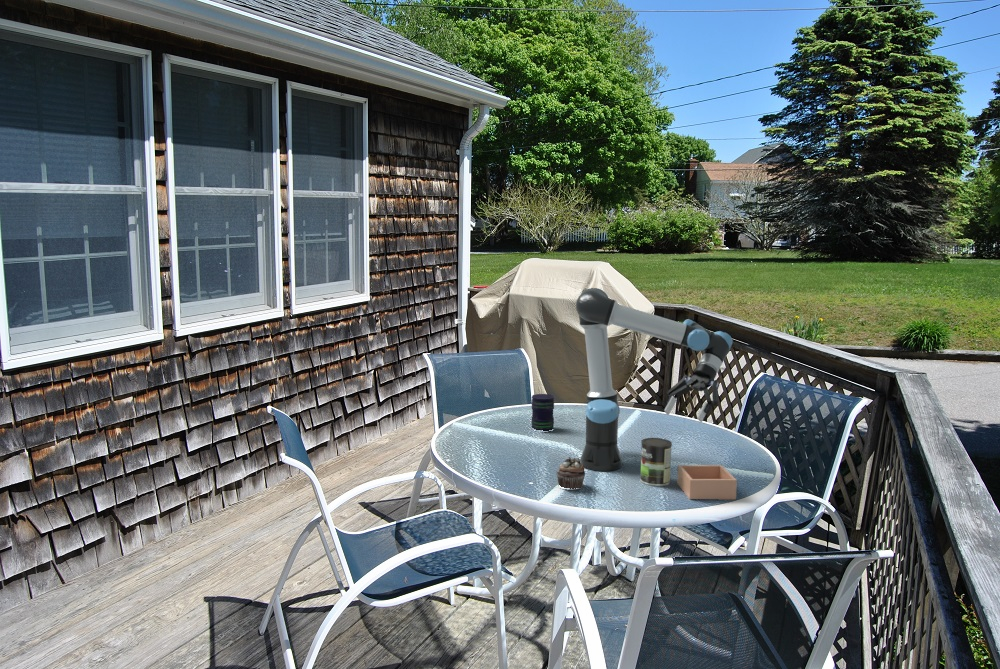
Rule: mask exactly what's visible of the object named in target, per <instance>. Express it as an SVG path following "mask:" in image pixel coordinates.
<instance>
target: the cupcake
mask: <svg viewBox="0 0 1000 669" xmlns="http://www.w3.org/2000/svg"><path fill="white" fill-rule="evenodd" d="M585 476H586V470H585V467H584V466H583V465H582V464H581V458H579V457H575V458H571V457H568V458H566V459H565V460H564V462H563V463H561V464H559V467H558V470H557V471H556V478H557V484H558V486H559V485H560V486H561V487H564V488H570V489H571V488H572V489H574V488H575V489H576V488H581V487H582V488H583V484H584V481H585ZM582 488H581V489H582Z"/></svg>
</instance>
